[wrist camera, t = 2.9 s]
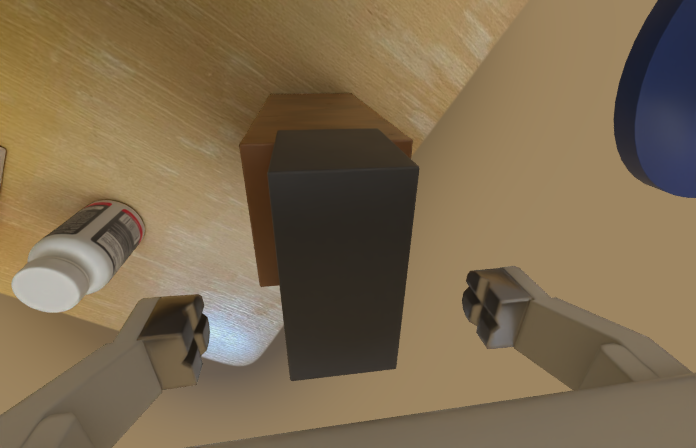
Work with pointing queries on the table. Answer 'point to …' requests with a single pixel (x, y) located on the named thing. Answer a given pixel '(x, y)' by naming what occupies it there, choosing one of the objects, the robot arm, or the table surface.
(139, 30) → the table surface
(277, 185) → the dark grey rectangular box
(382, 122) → the stand
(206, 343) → the robot arm
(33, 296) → the pill bottle
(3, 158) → the ink box
